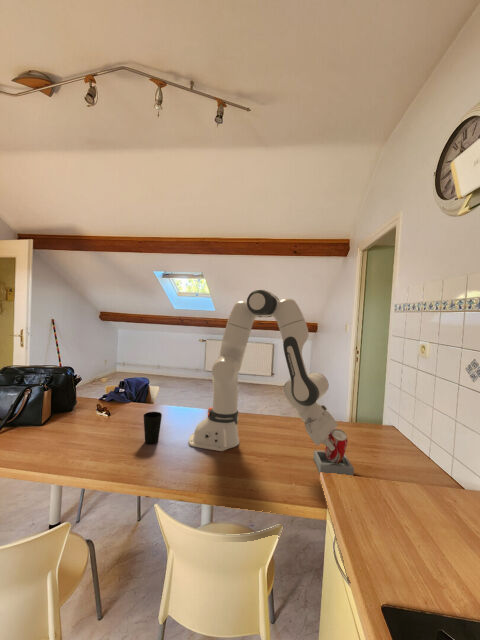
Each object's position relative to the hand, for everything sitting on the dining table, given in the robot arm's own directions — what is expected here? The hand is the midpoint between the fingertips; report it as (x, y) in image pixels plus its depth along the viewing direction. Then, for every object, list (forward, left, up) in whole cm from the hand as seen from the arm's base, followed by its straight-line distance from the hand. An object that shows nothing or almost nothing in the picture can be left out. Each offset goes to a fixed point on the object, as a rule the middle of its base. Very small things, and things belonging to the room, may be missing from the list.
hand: (336, 445), depth 112 cm
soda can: (0, +4, -7) cm, 8 cm away
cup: (-76, +12, -9) cm, 77 cm away
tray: (-1, +1, -9) cm, 9 cm away
